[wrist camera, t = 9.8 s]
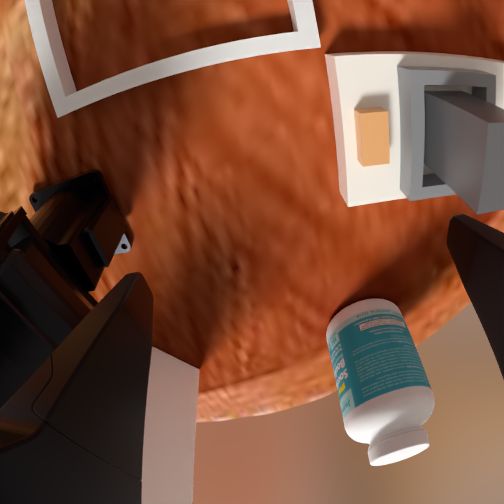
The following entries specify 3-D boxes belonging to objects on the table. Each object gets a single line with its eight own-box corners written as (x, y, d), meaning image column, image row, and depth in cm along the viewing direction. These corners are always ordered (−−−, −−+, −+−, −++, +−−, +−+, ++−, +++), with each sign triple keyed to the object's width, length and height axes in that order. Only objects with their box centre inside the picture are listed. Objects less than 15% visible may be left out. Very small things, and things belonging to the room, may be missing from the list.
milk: (126, 365, 33) (95, 555, 15) (153, 344, 30) (123, 568, 12) (171, 386, 35) (155, 565, 18) (201, 369, 33) (192, 574, 15)
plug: (422, 162, 17) (476, 214, 12) (421, 90, 14) (487, 122, 10) (460, 158, 17) (517, 206, 12) (462, 90, 14) (530, 123, 9)
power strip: (339, 191, 21) (355, 220, 18) (324, 54, 15) (342, 58, 12) (546, 167, 19) (571, 187, 16) (556, 72, 13) (585, 85, 10)
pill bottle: (313, 314, 28) (341, 463, 17) (391, 281, 26) (449, 425, 15) (337, 354, 32) (362, 476, 21) (403, 327, 30) (445, 446, 19)
